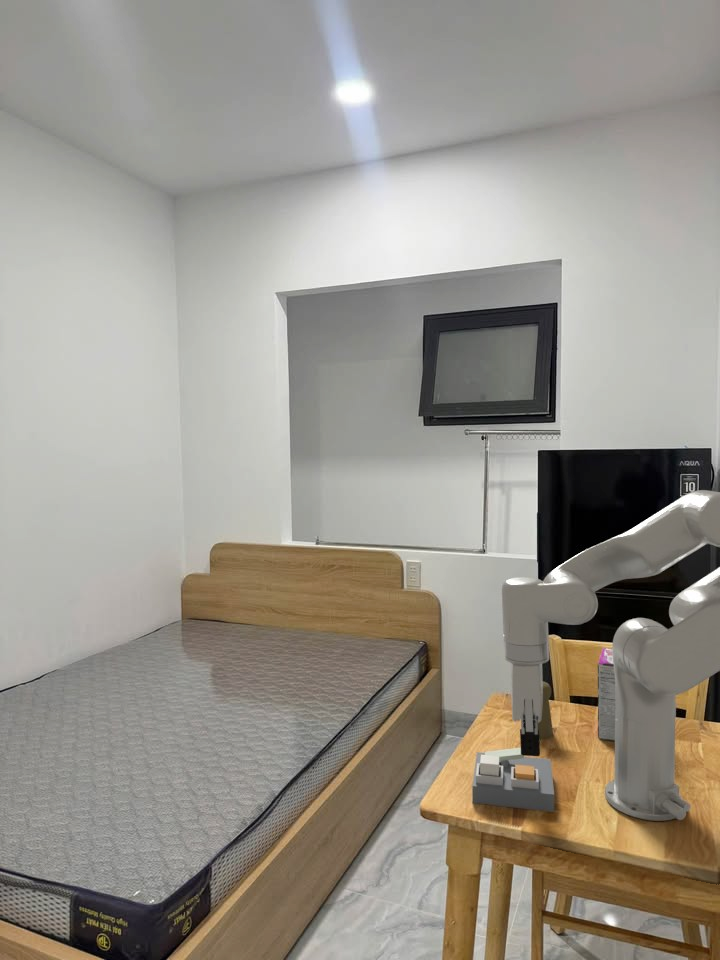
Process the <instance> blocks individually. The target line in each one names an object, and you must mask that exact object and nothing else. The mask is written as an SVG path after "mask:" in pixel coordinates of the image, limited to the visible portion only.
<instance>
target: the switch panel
mask: <svg viewBox="0 0 720 960" xmlns="http://www.w3.org/2000/svg"><path fill="white" fill-rule="evenodd" d="M481 755H485V752H476V756H475V764H474V772H473V779H472V787H471V788H472V795H471V796H472V804H480V805H488V806H497V807H504V808H505V807H506V808H516V809H524V810H534V811H543V812H550V813H551V812H553V813H555V788H554V777H553V770H552V769H553V768H552V761H551V758H542V757H541V758H540V757H534V756H524V759H515V760H505V761H499V776H494V775H484V774H480V759H481ZM515 765H525V766H534V780H525V779H515Z"/></svg>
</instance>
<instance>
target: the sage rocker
mask: <svg viewBox="0 0 720 960" xmlns="http://www.w3.org/2000/svg"><path fill="white" fill-rule="evenodd" d="M484 753H485V755H490V756H499V761H505V760H515V759H524V757H525V756H523V755H521V747H514V748H507V749H496V750H487V751H485V752H484Z"/></svg>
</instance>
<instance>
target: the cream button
mask: <svg viewBox="0 0 720 960" xmlns="http://www.w3.org/2000/svg"><path fill="white" fill-rule="evenodd" d="M480 774H484V775H494V776H499V756H490V755H481V759H480Z"/></svg>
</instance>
